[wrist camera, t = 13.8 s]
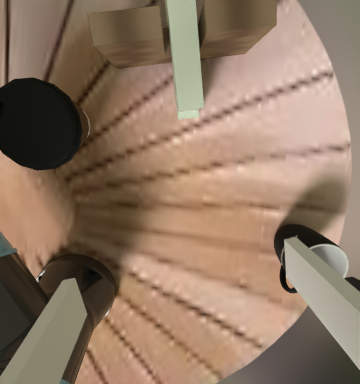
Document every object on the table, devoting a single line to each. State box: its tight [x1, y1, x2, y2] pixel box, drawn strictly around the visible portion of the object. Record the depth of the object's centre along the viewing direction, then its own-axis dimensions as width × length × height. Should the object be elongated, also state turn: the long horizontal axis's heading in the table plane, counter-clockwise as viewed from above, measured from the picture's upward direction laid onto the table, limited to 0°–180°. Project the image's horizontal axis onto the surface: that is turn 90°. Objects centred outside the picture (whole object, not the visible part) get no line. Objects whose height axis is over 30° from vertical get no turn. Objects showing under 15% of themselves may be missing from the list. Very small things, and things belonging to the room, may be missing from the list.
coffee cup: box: [0, 78, 91, 170], centre depth 34 cm, size 11×11×12 cm
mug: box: [274, 224, 349, 293], centre depth 43 cm, size 12×9×10 cm
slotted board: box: [87, 0, 277, 69], centre depth 32 cm, size 20×3×12 cm, turn 96°
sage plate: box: [164, 0, 204, 120], centre depth 32 cm, size 3×20×12 cm, turn 6°
